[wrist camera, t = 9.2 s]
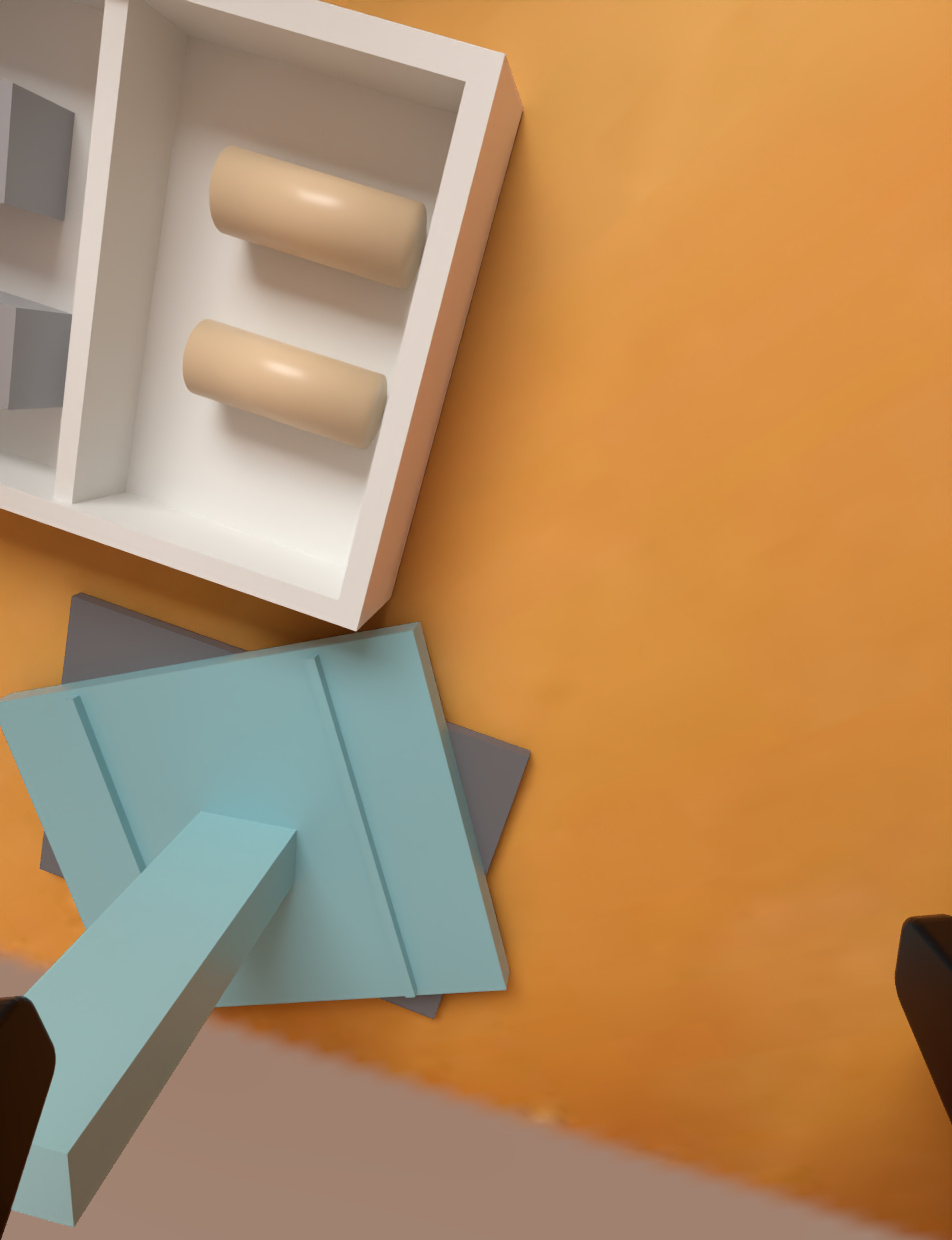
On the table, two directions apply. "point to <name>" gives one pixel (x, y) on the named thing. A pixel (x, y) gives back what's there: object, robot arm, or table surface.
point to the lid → (238, 865)
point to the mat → (139, 642)
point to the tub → (238, 279)
